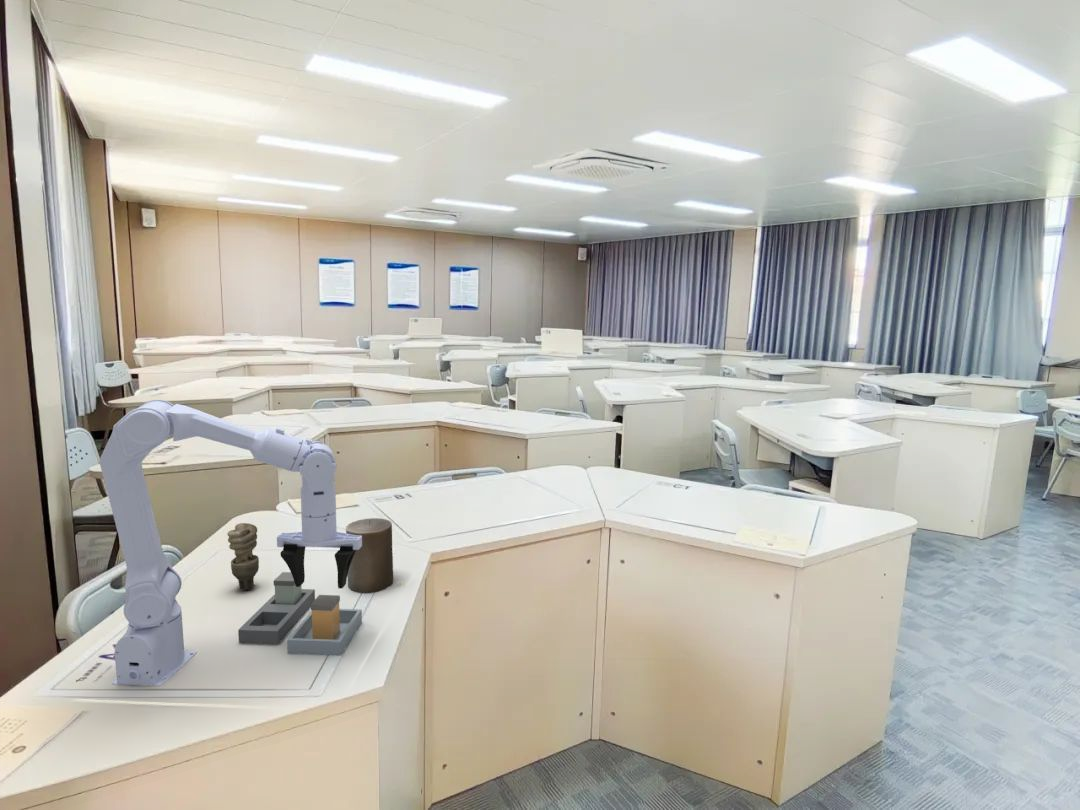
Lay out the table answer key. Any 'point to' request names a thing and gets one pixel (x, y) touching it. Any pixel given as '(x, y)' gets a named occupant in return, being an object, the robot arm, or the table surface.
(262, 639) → the block
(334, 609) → the block
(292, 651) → the parts tray
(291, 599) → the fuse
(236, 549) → the light bulb
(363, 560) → the pillar candle
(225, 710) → the table surface
